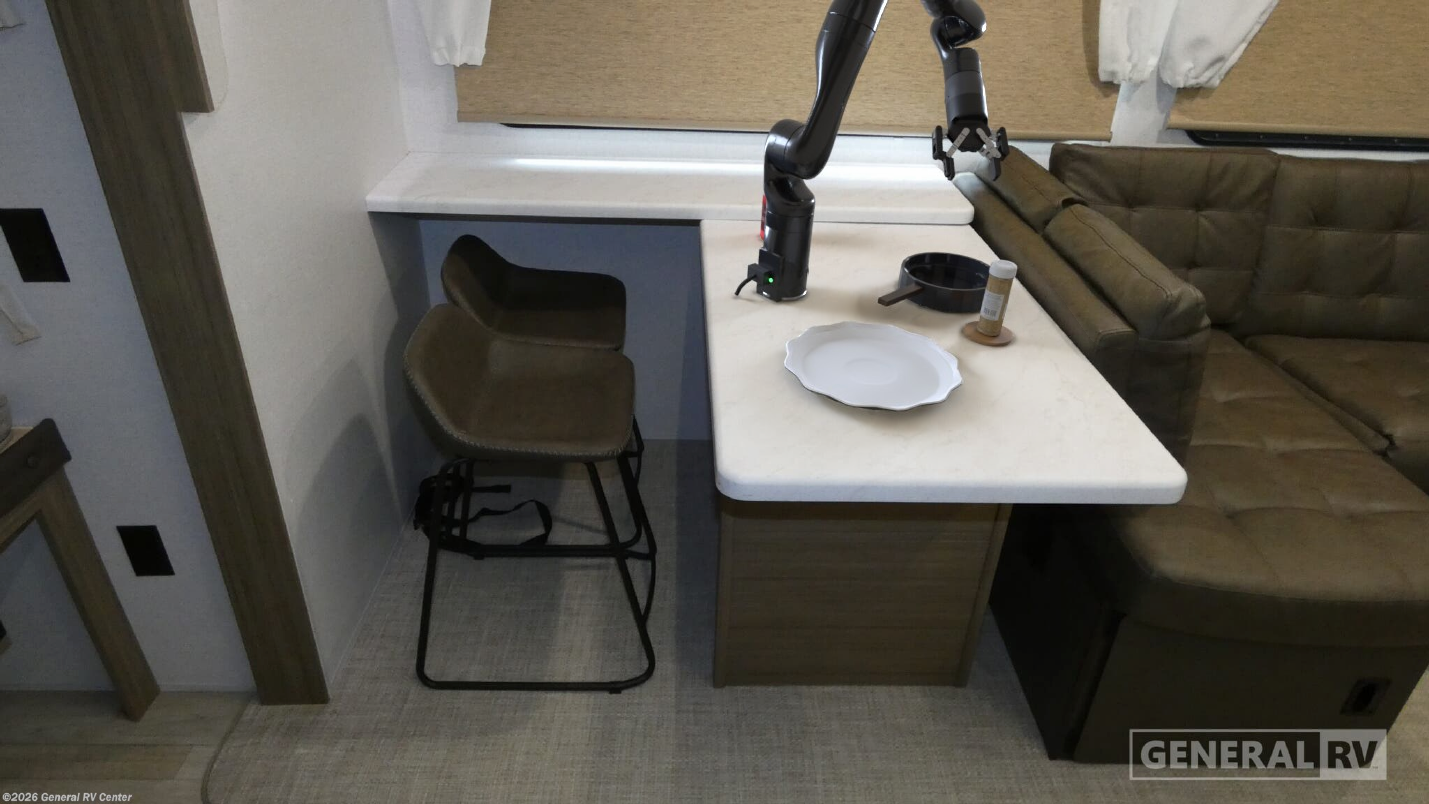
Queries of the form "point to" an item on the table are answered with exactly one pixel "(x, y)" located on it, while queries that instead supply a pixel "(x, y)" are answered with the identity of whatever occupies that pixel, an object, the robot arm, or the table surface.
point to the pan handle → (900, 295)
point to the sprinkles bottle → (996, 297)
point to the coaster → (976, 336)
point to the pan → (946, 281)
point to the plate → (872, 366)
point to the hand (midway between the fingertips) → (973, 179)
